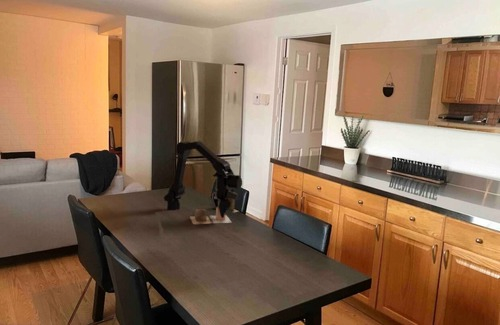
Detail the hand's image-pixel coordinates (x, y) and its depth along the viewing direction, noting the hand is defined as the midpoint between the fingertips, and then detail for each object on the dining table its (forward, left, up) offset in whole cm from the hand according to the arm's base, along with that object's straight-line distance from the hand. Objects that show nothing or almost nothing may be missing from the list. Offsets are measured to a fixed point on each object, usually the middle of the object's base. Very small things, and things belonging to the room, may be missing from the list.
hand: (220, 214), depth 206 cm
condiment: (+10, +18, -4) cm, 21 cm away
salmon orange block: (0, 0, -2) cm, 2 cm away
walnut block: (-10, 0, -2) cm, 11 cm away
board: (-5, 0, -4) cm, 6 cm away
